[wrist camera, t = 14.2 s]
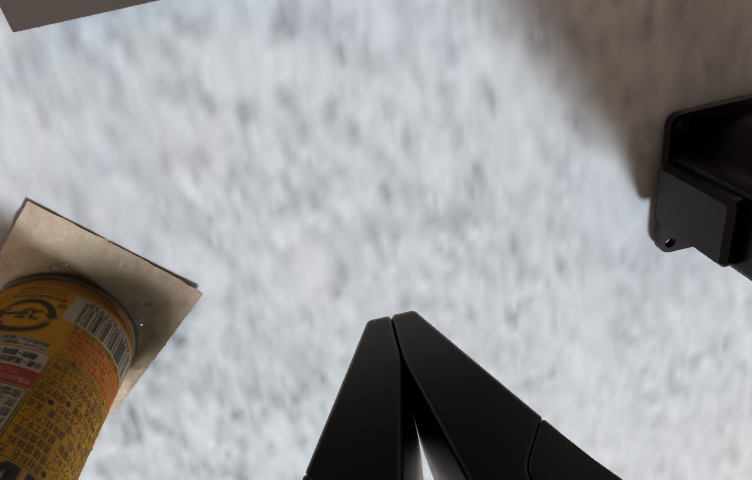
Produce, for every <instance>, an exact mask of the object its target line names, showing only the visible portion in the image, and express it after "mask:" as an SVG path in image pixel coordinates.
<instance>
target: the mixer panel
mask: <svg viewBox="0 0 752 480" xmlns="http://www.w3.org/2000/svg"><path fill="white" fill-rule="evenodd" d="M153 1H158V0H0V8H1V10H2V11H3V13H4V15H5V17H6V19H7V21H8V23H9V25H10V27H11V29H12V31H13V32H17V31H22V30H27V29H31V28H36V27H41V26H45V25H50V24H54V23H59V22H63V21H68V20H72V19H77V18H81V17H86V16H90V15H95V14H99V13H104V12H108V11H113V10H117V9H122V8H126V7H131V6H135V5H140V4H144V3H149V2H153Z"/></svg>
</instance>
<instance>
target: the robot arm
mask: <svg viewBox="0 0 752 480" xmlns="http://www.w3.org/2000/svg"><path fill="white" fill-rule="evenodd" d="M681 120H683V123H682V125H681V126H680V127H679V128H677V125H678V123H679V122H680V121H681ZM655 219H656V231H655V245H656V246H657V247H658V248H659V249H660V250H662V251H664V252H672V251H676V250H680V249H685V248H689V247H694V248H696V249H697V250H699V251H700V252H701V253H703V254H704V255H706V256H707V257H708V258H710V259H711V260H713V261H714V262H716V263H717V264H718V265H720V266H722V267H727V266H731V267H732V268H734V269H735V270H737V271H738V272H739V273H741V274H742V275H744V276H745V277H747V278H748V279H750V280H751V281H752V94H749V95H745V96H741V97H736V98H732V99H728V100H723V101H719V102H715V103H710V104H706V105H701V106H697V107H693V108H688V109H684V110H680V111H677V112H674V113H673V114H671V115H670V116H669V117H668V119H667V120H666V123H665V130H664V141H663V153H662V164H661V168H660V171H659V182H658V193H657V205H656V216H655ZM668 239H670V240H669V241H668V242H667V243H666V241H667V240H668ZM392 322H393V323H392ZM415 423H416V424H415ZM416 427H417V429H416ZM417 431H418V434H417ZM418 435H419V438H420V442H421V445H422V448H423V451H424V454H425V457H426V459H427V462H428V465H429V467H430V470H431V473H432V475H433V478H434V480H622V479H621V478H620V477H618V476H617V475H615V474H614V473H612V472H611V471H610V470H608V469H607V468H605V467H604V466H602V465H601V464H600V463H598V462H597V461H595V460H594V459H593V458H591V457H590V456H589V455H588V454H586V453H585V452H584V451H582V450H581V449H580V448H579V447H577V446H576V445H575V444H574V443H572V442H571V441H570V440H569V439H567V438H566V437H565V436H563V435H562V434H561V433H560V432H559V431H558V430H556V429H555V428H554V427H553V426H552V425H550V424H549V423H548V422H547V421H546V420H542V418H541V417H540V416H539V415H538V414H537V413H536V412H535V411H533V410H532V409H531V408H530V407H529V406H527V405H526V404H525V403H524V402H523V401H522V400H520V399H519V398H518V397H517V396H516V395H514V394H513V393H512V392H511V391H510V390H508V389H507V388H506V387H505V386H504V385H502V384H501V383H500V382H499V381H498V380H496V379H495V378H494V377H493V376H492V375H490V374H489V373H488V372H487V371H486V370H484V369H483V368H482V367H481V366H480V365H479V364H477V363H476V362H475V361H474V360H473V359H471V358H470V357H469V356H468V355H467V354H465V353H464V352H463V351H462V350H461V349H459V348H458V347H457V346H456V345H455V344H453V343H452V342H451V341H450V340H449V339H447V338H446V337H445V336H444V335H443V334H441V333H440V332H439V331H438V330H437V329H436V328H434V327H433V326H432V325H431V324H430V323H428V322H427V321H426V320H425V319H424V318H422V317H421V316H420V315H419V314H418V313H416V312H415V311H409V312H405V313H401V314H396V315H394V316H393V317H392V319H391V318H390V317H383V318H379V319H374V320H370V321H369V322H368V323H367V324H366V327H365V329H364V332H363V334H362V336H361V339H360V341H359V344H358V346H357V349H356V351H355V353H354V356H353V358H352V361H351V363H350V366H349V368H348V371H347V373H346V375H345V378H344V380H343V383H342V385H341V388H340V390H339V393H338V395H337V397H336V400H335V402H334V405H333V407H332V410H331V412H330V414H329V417H328V419H327V422H326V424H325V427H324V429H323V432H322V434H321V436H320V439H319V441H318V444H317V446H316V449H315V451H314V453H313V456H312V458H311V461H310V463H309V466H308V468H307V471H306V474H307V475H305V476H304V477H303V480H424V479H423V470H422V460H421V452H420V445H419V439H418Z"/></svg>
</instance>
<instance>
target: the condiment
mask: <svg viewBox="0 0 752 480" xmlns="http://www.w3.org/2000/svg"><path fill="white" fill-rule="evenodd" d="M64 263H68V264H70V266H68V267H61V264H64ZM55 266H57V267H58V268H59V269H58V270H52V269H51V268H52V267H55ZM202 294H203V293H201V292H200V291H198V290H196V289H195V288H193V287H191V286H189V285H187V284H185V283H184V282H183V281H182V280H180V279H178V278H176V277H174V276H172V275H170V274H169V273H167V272H165V271H163V270H161V269H159V268H157V267H155V266H153V265H151V264H150V263H148V262H147V261H145V260H143V259H141V258H139V257H137V256H135V255H134V254H132V253H130V252H128V251H126V250H124V249H122V248H120V247H118V246H116V245H114V244H112V243H111V242H110V241H108V240H107V239H104V238H101V237H99V236H96V235H94V234H92V233H90V232H87V231H86V230H84V229H82V228H80V227H78V226H76V225H75V224H73V223H71V222H69V221H68V220H66V219H64V218H62V217H59V216H56V215H54V214H52V213H50V212H48V211H46V210H44V209H42V208H40V207H39V206H37V205H35V204H33V203H31V202H29V201H27V203H26V205H25V207H24V208H23V210H22V212H21V214H20V215H19V217H18V219H17V221H16V223H15V225H14V227H13V229H12V231H11V232H10V234H9V236H8V237H7V239H6V241H5V243H4V245H3V247H2V249H1V251H0V480H78V479H79V476H80V474H81V471H82V469H83V467H84V465H85V462H86V460H87V458H88V456H89V454H90V452H91V451H92V449H93V445H94V444H95V440H96V438H97V436H98V434H99V432H100V430H101V427H102V425H103V423H104V421H105V419H106V417H107V415H108V414H111V415H113V414H114V413H115V412H116V410H117V409H118V407H119V406H120V405H121V403H122V402H123V401H124V399H125V398H126V396H127V395H128V394H129V392H130V391H131V389H132V388H133V387H134V386H135V384H136V383H137V381H138V380H139V379H140V377H141V376H142V374H143V373H144V372H145V370H146V369H147V368H148V366H149V365H150V364H151V362H152V361H153V360H154V359H155V357H156V356H157V355H158V353H159V352H160V351H161V350H162V348H163V347H164V346H165V344H166V343H167V341H168V340H169V338H170V337H171V336H172V335H173V333H174V332H175V330H176V329H177V328H178V326H179V325H180V324H181V322H182V321H183V319H184V318H185V317H186V316H187V314H188V313H189V312H190V311H191V309H192V308H193V307H194V305H195V304H196V302H197V301H198V300H199V298H200V297H201V296H202ZM140 324H143V326H141V325H140Z"/></svg>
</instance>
